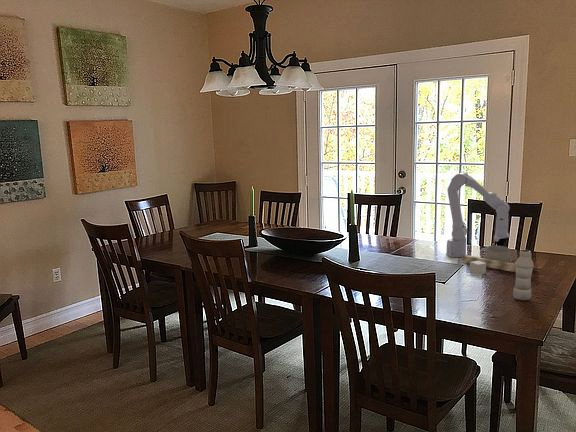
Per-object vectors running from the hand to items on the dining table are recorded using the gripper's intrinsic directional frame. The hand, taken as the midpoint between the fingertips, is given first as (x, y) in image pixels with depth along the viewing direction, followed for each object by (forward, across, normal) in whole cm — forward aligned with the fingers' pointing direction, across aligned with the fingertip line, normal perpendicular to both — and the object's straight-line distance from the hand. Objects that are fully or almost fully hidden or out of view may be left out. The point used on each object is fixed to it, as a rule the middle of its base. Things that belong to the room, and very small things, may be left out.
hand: (500, 252), depth 244 cm
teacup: (+4, -8, 0) cm, 9 cm away
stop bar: (+4, -15, 0) cm, 15 cm away
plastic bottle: (+4, -51, -28) cm, 58 cm away
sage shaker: (+4, -5, -14) cm, 15 cm away
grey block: (+4, -28, 0) cm, 28 cm away
